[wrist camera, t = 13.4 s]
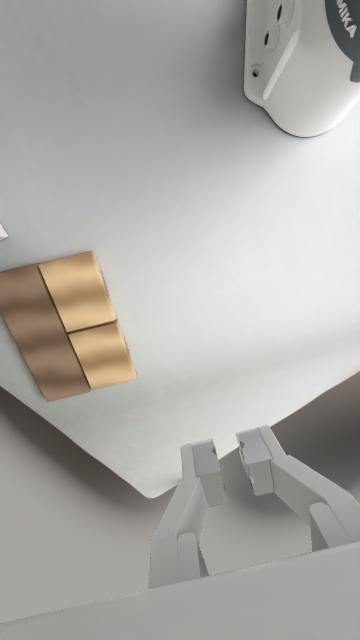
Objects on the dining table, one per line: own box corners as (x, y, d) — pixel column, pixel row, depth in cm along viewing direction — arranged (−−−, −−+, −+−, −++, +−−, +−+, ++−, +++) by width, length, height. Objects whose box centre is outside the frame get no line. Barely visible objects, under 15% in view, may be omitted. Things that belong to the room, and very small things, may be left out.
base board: (-8, 275, 35) (-18, 277, 33) (41, 263, 35) (34, 263, 33) (52, 395, 42) (47, 402, 40) (93, 385, 42) (89, 391, 40)
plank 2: (73, 330, 38) (68, 334, 36) (117, 319, 38) (115, 323, 36) (95, 383, 42) (92, 390, 40) (136, 373, 42) (135, 379, 40)
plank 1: (45, 263, 35) (38, 264, 33) (94, 251, 35) (89, 251, 33) (72, 327, 38) (67, 331, 36) (116, 316, 38) (114, 320, 36)
